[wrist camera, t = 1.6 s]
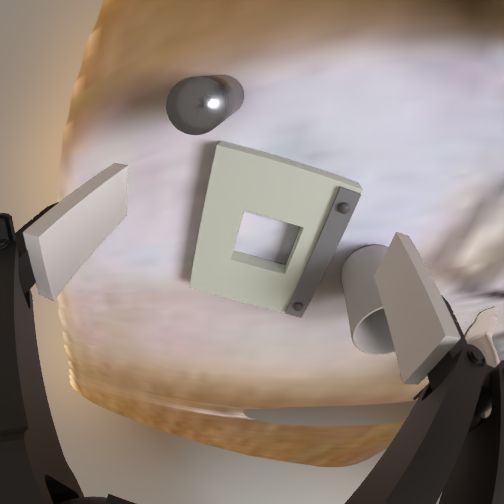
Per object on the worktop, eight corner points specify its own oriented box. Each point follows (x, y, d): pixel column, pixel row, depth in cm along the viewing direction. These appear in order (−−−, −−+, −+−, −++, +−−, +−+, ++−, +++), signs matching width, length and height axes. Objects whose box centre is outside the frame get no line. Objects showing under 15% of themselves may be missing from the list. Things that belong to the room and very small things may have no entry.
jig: (220, 140, 32) (214, 147, 29) (358, 182, 33) (364, 192, 30) (193, 278, 43) (187, 291, 41) (300, 307, 44) (300, 322, 41)
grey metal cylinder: (206, 71, 28) (172, 72, 19) (248, 80, 28) (231, 83, 20) (197, 111, 30) (161, 128, 22) (238, 120, 30) (217, 140, 22)
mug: (332, 257, 38) (341, 319, 29) (393, 234, 35) (420, 291, 26) (356, 317, 44) (366, 377, 35) (409, 299, 41) (429, 357, 32)
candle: (502, 303, 39) (547, 393, 23) (484, 352, 46) (512, 432, 30) (472, 312, 41) (513, 410, 24) (455, 360, 48) (480, 445, 31)
